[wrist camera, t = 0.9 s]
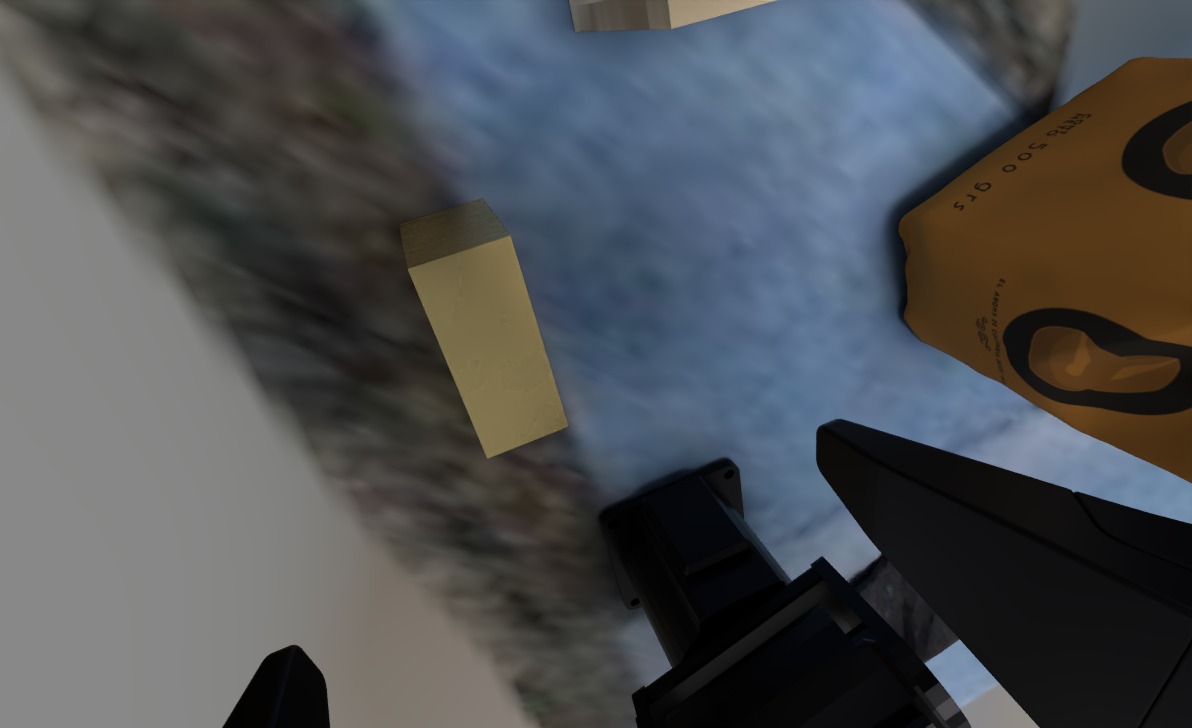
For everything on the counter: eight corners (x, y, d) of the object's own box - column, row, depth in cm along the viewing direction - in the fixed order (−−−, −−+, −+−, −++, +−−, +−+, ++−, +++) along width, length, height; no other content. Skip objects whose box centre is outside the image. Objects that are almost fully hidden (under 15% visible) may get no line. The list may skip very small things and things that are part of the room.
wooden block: (535, 363, 20) (568, 426, 17) (466, 389, 20) (487, 458, 17) (481, 197, 17) (510, 235, 14) (398, 223, 17) (407, 268, 13)
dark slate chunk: (701, 663, 34) (745, 745, 30) (1007, 444, 34) (1091, 498, 30) (779, 740, 43) (821, 812, 39) (1023, 567, 43) (1090, 621, 39)
